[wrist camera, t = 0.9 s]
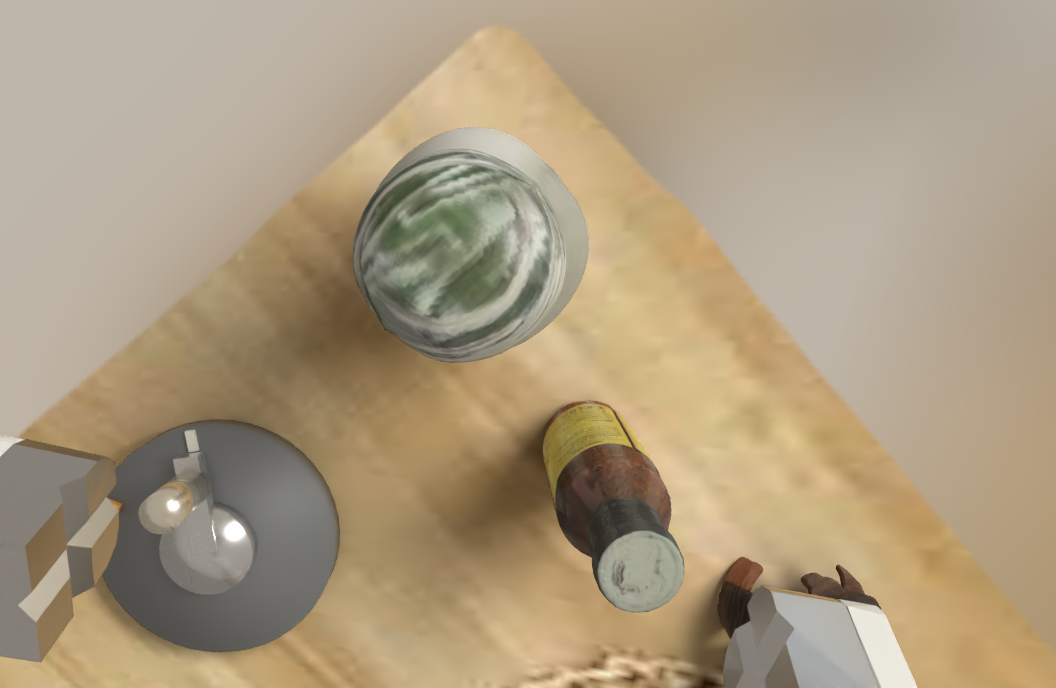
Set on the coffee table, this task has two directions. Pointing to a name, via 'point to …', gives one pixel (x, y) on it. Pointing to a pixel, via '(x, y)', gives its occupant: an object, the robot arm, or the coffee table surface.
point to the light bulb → (198, 531)
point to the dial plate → (271, 508)
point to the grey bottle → (469, 246)
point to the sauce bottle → (613, 505)
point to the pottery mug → (746, 573)
